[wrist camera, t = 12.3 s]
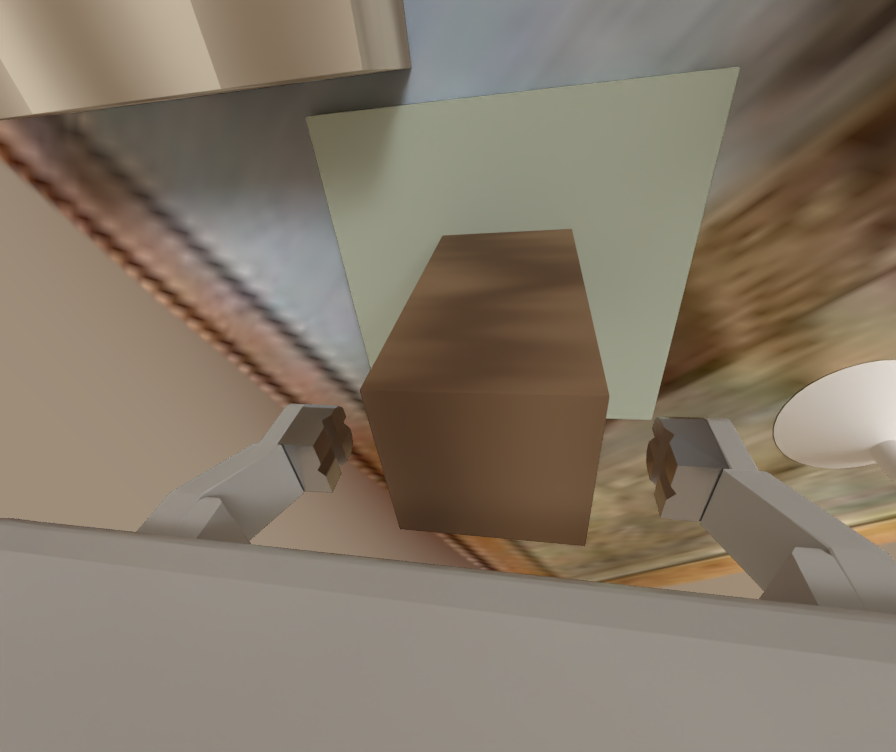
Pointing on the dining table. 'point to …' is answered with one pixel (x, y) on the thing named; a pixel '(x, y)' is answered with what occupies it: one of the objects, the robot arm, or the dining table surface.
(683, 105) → the sage mat
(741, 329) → the dining table surface
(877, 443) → the champagne flute
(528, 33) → the dining table surface
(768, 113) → the dining table surface
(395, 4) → the pocket block
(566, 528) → the walnut peg
